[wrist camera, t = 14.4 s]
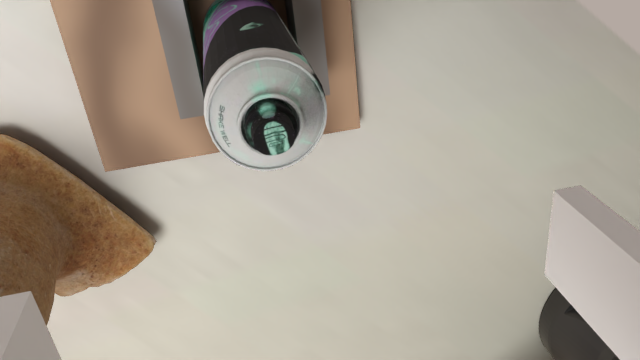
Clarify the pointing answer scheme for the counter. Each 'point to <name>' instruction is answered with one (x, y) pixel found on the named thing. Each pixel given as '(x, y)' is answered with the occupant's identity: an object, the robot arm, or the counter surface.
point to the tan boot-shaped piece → (59, 230)
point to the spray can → (258, 87)
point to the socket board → (147, 83)
